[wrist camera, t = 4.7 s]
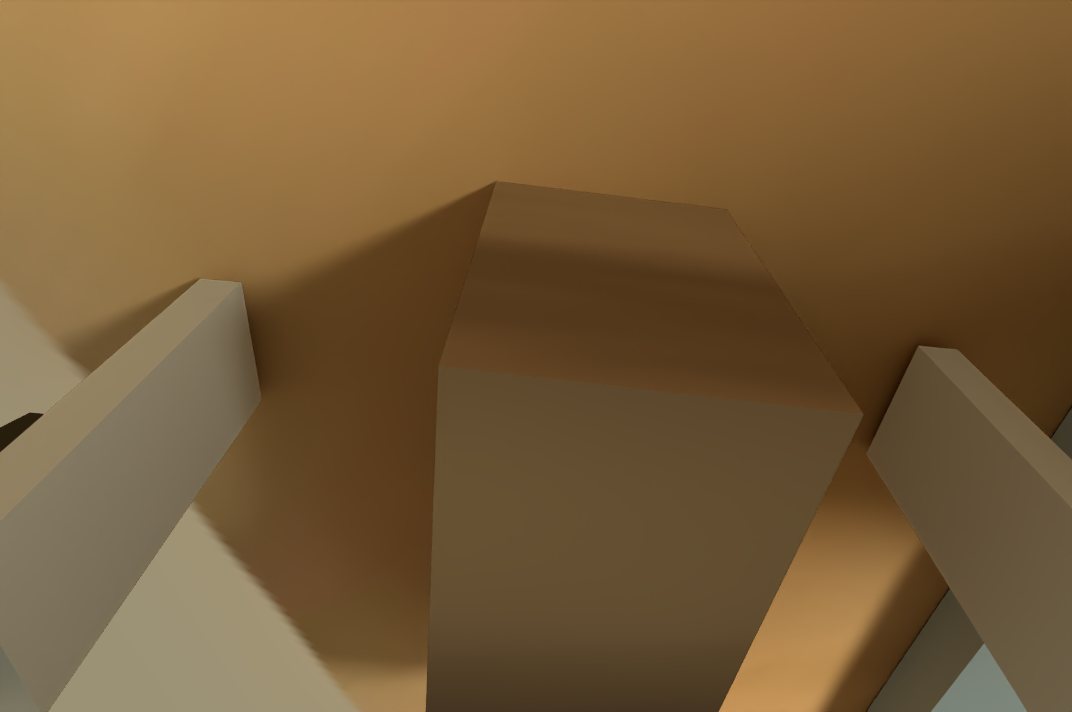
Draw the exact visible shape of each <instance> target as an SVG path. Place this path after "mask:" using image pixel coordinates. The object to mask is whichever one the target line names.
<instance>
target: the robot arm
mask: <svg viewBox="0 0 1072 712" xmlns="http://www.w3.org/2000/svg"><path fill="white" fill-rule="evenodd" d="M261 401H262V397H261V391H260V385H259V380H258V374H257V368H256V363H255V357H254V351H253V346H252V340H251V334H250V329H249V323H248V317H247V312H246V306H245V300H244V295H243V289H242V283H241V282H234V281H223V280H213V279H202V278H200V279H199V280H198V281H197V282H196V283H195V284H194V285H192V286H191V287H190V288H189V289H188V290H187V291H185V292H184V293H183V294H182V295H181V296H180V297H179V298H177V299H176V300H175V301H174V302H173V303H172V304H171V305H169V306H168V307H167V308H166V309H165V310H164V311H162V312H161V313H160V314H159V315H158V316H157V317H156V318H154V319H153V320H152V321H151V322H150V323H149V324H147V325H146V326H145V327H144V328H143V329H142V330H141V331H139V332H138V333H137V334H136V335H135V336H134V337H133V338H131V339H130V340H129V341H128V342H127V343H126V344H124V345H123V346H122V347H121V348H120V349H119V350H118V351H116V352H115V353H114V354H113V355H112V356H111V357H109V358H108V359H107V360H106V361H105V362H104V363H103V364H101V365H100V366H99V367H98V368H97V369H96V370H95V371H93V372H92V373H91V374H90V375H89V376H88V377H86V378H85V379H84V380H83V381H82V382H81V383H80V384H78V385H77V386H76V387H75V388H74V389H73V390H71V391H70V392H69V393H68V394H67V395H66V396H65V397H63V398H62V399H61V400H60V401H59V402H58V403H57V404H55V405H54V406H53V407H52V408H51V409H50V410H49V411H47V412H46V413H45V414H40V413H28V414H26V415H24V416H22V417H21V418H18V419H16V420H14V421H12V422H11V423H8V424H6V425H4V426H2V427H0V712H48V711H49V709H50V708H51V706H52V705H53V704H54V702H55V700H56V699H57V698H58V696H59V695H60V693H61V692H62V690H63V689H64V688H65V686H66V685H67V683H68V682H69V680H70V679H71V677H72V676H73V674H74V673H75V671H76V670H77V669H78V667H79V666H80V664H81V663H82V661H83V660H84V658H85V657H86V656H87V654H88V653H89V651H90V650H91V648H92V647H93V645H94V644H95V642H96V641H97V639H98V638H99V637H100V635H101V634H102V632H103V631H104V629H105V628H106V626H107V625H108V623H109V622H110V621H111V619H112V617H113V616H114V615H115V613H116V612H117V610H118V609H119V607H120V606H121V604H122V603H123V602H124V600H125V599H126V597H127V596H128V594H129V593H130V591H131V590H132V589H133V587H134V586H135V584H136V583H137V581H138V580H139V578H140V577H141V575H142V574H143V573H144V571H145V570H146V568H147V567H148V565H149V564H150V562H151V561H152V559H153V558H154V556H155V555H156V553H157V552H158V551H159V549H160V548H161V546H162V545H163V543H164V542H165V540H166V539H167V538H168V536H169V535H170V533H171V532H172V530H173V529H174V527H175V526H176V524H177V523H178V521H179V520H180V519H181V517H182V516H183V514H184V513H185V511H186V510H187V508H188V507H189V506H190V504H191V503H192V501H193V500H194V498H195V497H196V495H197V494H198V492H199V491H200V490H201V488H202V487H203V485H204V484H205V482H206V481H207V479H208V478H209V476H210V475H211V473H212V472H213V471H214V469H215V468H216V466H217V465H218V463H219V462H220V460H221V459H222V457H223V456H224V455H225V453H226V452H227V450H228V449H229V447H230V446H231V444H232V443H233V441H234V440H235V439H236V437H237V436H238V434H239V433H240V431H241V430H242V428H243V427H244V425H245V424H246V423H247V421H248V420H249V418H250V417H251V415H252V414H253V412H254V411H255V409H256V408H257V407H258V405H259V404H260V402H261ZM866 455H867V457H868V458H869V460H870V461H871V463H872V465H873V466H874V468H875V469H876V471H877V473H878V474H879V476H880V477H881V479H882V481H883V482H884V484H885V485H886V487H887V489H888V490H889V492H890V493H891V495H892V497H893V498H894V500H895V501H896V503H897V504H898V506H899V508H900V509H901V511H902V512H903V514H904V516H905V517H906V519H907V520H908V522H909V524H910V525H911V527H912V528H913V530H914V532H915V533H916V535H917V536H918V538H919V540H920V541H921V543H922V544H923V546H924V548H925V549H926V551H927V552H928V554H929V556H930V557H931V559H932V560H933V562H934V564H935V565H936V567H937V568H938V570H939V572H940V573H941V575H942V576H943V578H944V580H945V581H946V583H947V584H948V586H949V588H950V589H951V591H952V592H953V594H954V596H955V597H956V599H957V600H958V602H959V603H960V605H961V607H962V608H963V610H964V611H965V613H966V615H967V616H968V618H969V619H970V621H971V623H972V624H973V626H974V627H975V629H976V631H977V632H978V634H979V635H980V637H981V639H982V640H983V642H984V643H985V645H986V647H987V648H988V650H989V651H990V653H991V655H992V656H993V658H994V659H995V661H996V663H997V664H998V666H999V667H1000V669H1001V671H1002V672H1003V674H1004V675H1005V677H1006V679H1007V680H1008V682H1009V683H1010V685H1011V687H1012V688H1013V690H1014V691H1015V693H1016V694H1017V696H1018V698H1019V699H1020V701H1021V702H1022V704H1023V706H1024V707H1025V709H1026V710H1027V712H1072V459H1070V458H1069V457H1068V456H1067V455H1066V454H1065V453H1064V452H1063V451H1062V450H1061V449H1060V448H1059V447H1058V446H1057V445H1056V444H1055V443H1054V442H1053V441H1052V440H1051V439H1050V438H1049V437H1048V436H1047V435H1046V434H1045V433H1044V432H1042V431H1041V430H1040V429H1039V428H1038V427H1037V426H1036V425H1035V424H1034V423H1033V422H1032V421H1031V420H1030V419H1029V418H1028V417H1027V416H1026V415H1025V414H1024V413H1023V412H1022V411H1021V410H1020V409H1019V408H1018V407H1017V406H1016V405H1014V404H1013V403H1012V402H1011V401H1010V400H1009V399H1008V398H1007V397H1006V396H1005V395H1004V394H1003V393H1002V392H1001V391H1000V390H999V389H998V388H997V387H996V386H995V385H994V384H993V383H992V382H991V381H990V380H989V379H988V378H986V377H985V376H984V375H983V374H982V373H981V372H980V371H979V370H978V369H977V368H976V367H975V366H974V365H973V364H972V363H971V362H970V361H969V360H968V359H967V358H966V357H965V356H964V355H963V354H962V353H961V352H960V351H959V350H957V349H948V348H938V347H927V346H918V347H917V350H916V352H915V354H914V356H913V358H912V360H911V362H910V364H909V366H908V368H907V370H906V372H905V375H904V377H903V379H902V381H901V383H900V385H899V387H898V389H897V391H896V393H895V395H894V397H893V400H892V402H891V404H890V406H889V408H888V410H887V412H886V414H885V416H884V418H883V420H882V422H881V424H880V427H879V429H878V431H877V433H876V435H875V437H874V439H873V441H872V443H871V445H870V447H869V449H868V452H867V454H866Z"/></svg>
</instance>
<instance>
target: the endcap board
mask: <svg viewBox="0 0 1072 712" xmlns="http://www.w3.org/2000/svg"><path fill="white" fill-rule="evenodd" d="M1051 440H1052V441H1053V442H1054V443H1055V444H1056V445H1057V446H1058V447H1059V448H1060V449H1061V450H1062V451H1063V452H1064V453H1065V454H1066V455H1067V456H1068V457H1069V458H1070V459H1072V408H1071V410H1070V411H1069V413H1068V414H1067V416H1066V417H1065V419H1064V420H1063V422H1062V423H1061V425H1060V426H1059V428H1058V429H1057V431H1056V432H1055V434H1054V435H1053V436H1052V438H1051ZM867 712H1027V710H1026V709H1025V707H1024V706H1023V704H1022V702H1021V701H1020V699H1019V698H1018V696H1017V694H1016V693H1015V691H1014V690H1013V688H1012V687H1011V685H1010V683H1009V682H1008V680H1007V679H1006V677H1005V675H1004V674H1003V672H1002V671H1001V669H1000V667H999V666H998V664H997V663H996V661H995V659H994V658H993V656H992V655H991V653H990V651H989V650H988V648H987V647H986V645H985V643H984V642H983V640H982V639H981V637H980V635H979V634H978V632H977V631H976V629H975V627H974V626H973V624H972V623H971V621H970V619H969V618H968V616H967V615H966V613H965V611H964V610H963V608H962V607H961V605H960V603H959V602H958V600H957V599H956V597H955V596H954V594H953V592H952V591H951V589H949V590H948V592H947V593H946V595H945V596H944V598H943V599H942V601H941V602H940V604H939V605H938V607H937V608H936V610H935V611H934V613H933V614H932V616H931V617H930V619H929V620H928V622H927V623H926V625H925V626H924V627H923V629H922V630H921V632H920V633H919V635H918V636H917V638H916V639H915V641H914V642H913V644H912V645H911V647H910V648H909V650H908V651H907V653H906V654H905V656H904V657H903V659H902V660H901V662H900V663H899V664H898V666H897V667H896V669H895V670H894V672H893V673H892V675H891V676H890V678H889V679H888V681H887V682H886V684H885V685H884V687H883V688H882V690H881V691H880V693H879V694H878V696H877V697H876V699H875V700H874V701H873V703H872V704H871V706H870V707H869V709H868V710H867Z"/></svg>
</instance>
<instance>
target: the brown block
mask: <svg viewBox="0 0 1072 712" xmlns="http://www.w3.org/2000/svg"><path fill="white" fill-rule="evenodd" d="M863 415H864V414H863V412H862V411H861V409H860V408H859V406H858V405H857V403H856V402H855V400H854V399H853V397H852V396H851V394H850V393H849V391H848V390H847V388H846V387H845V385H844V384H843V383H842V381H841V380H840V378H839V377H838V375H837V374H836V372H835V371H834V369H833V368H832V366H831V365H830V363H829V362H828V360H827V359H826V357H825V356H824V354H823V353H822V351H821V350H820V348H819V347H818V345H817V344H816V342H815V341H814V339H813V338H812V336H811V335H810V333H809V332H808V330H807V329H806V327H805V326H804V324H803V323H802V321H801V320H800V318H799V317H798V315H797V314H796V312H795V311H794V309H793V308H792V306H791V305H790V303H789V302H788V301H787V299H786V298H785V296H784V295H783V293H782V292H781V290H780V289H779V287H778V286H777V284H776V283H775V281H774V280H773V278H772V277H771V275H770V274H769V272H768V271H767V269H766V268H765V266H764V265H763V263H762V262H761V260H760V259H759V257H758V256H757V254H756V253H755V251H754V250H753V248H752V247H751V245H750V244H749V242H748V241H747V239H746V238H745V236H744V235H743V233H742V232H741V230H740V229H739V227H738V226H737V224H736V223H735V221H734V220H733V218H732V217H731V216H730V214H729V213H728V211H727V210H726V209H719V208H711V207H702V206H694V205H686V204H678V203H670V202H662V201H654V200H645V199H637V198H629V197H621V196H613V195H605V194H597V193H589V192H580V191H572V190H564V189H556V188H548V187H540V186H532V185H523V184H515V183H507V182H499V181H496V183H495V187H494V190H493V193H492V196H491V199H490V203H489V206H488V209H487V212H486V215H485V218H484V222H483V225H482V228H481V231H480V234H479V238H478V241H477V244H476V247H475V250H474V253H473V257H472V260H471V263H470V266H469V269H468V273H467V276H466V279H465V282H464V285H463V289H462V292H461V295H460V298H459V301H458V304H457V308H456V311H455V314H454V317H453V320H452V324H451V327H450V330H449V333H448V336H447V340H446V343H445V346H444V349H443V352H442V355H441V359H440V362H439V365H438V388H437V416H436V444H435V471H434V499H433V527H432V555H431V583H430V610H429V638H428V666H427V694H426V712H719V710H720V708H721V706H722V703H723V701H724V699H725V697H726V695H727V693H728V691H729V689H730V687H731V685H732V683H733V681H734V679H735V677H736V675H737V673H738V671H739V669H740V667H741V665H742V663H743V661H744V659H745V656H746V654H747V652H748V650H749V648H750V646H751V644H752V642H753V640H754V638H755V636H756V634H757V632H758V630H759V628H760V626H761V624H762V622H763V620H764V618H765V616H766V614H767V612H768V609H769V607H770V605H771V603H772V601H773V599H774V597H775V595H776V593H777V591H778V589H779V587H780V585H781V583H782V581H783V579H784V577H785V575H786V573H787V571H788V569H789V567H790V565H791V563H792V560H793V558H794V556H795V554H796V552H797V550H798V548H799V546H800V544H801V542H802V540H803V538H804V536H805V534H806V532H807V530H808V528H809V526H810V524H811V522H812V520H813V518H814V516H815V513H816V511H817V509H818V507H819V505H820V503H821V501H822V499H823V497H824V495H825V493H826V491H827V489H828V487H829V485H830V483H831V481H832V479H833V477H834V475H835V473H836V471H837V469H838V466H839V464H840V462H841V460H842V458H843V456H844V454H845V452H846V450H847V448H848V446H849V444H850V442H851V440H852V438H853V436H854V434H855V432H856V430H857V428H858V426H859V424H860V422H861V419H862V417H863Z"/></svg>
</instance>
